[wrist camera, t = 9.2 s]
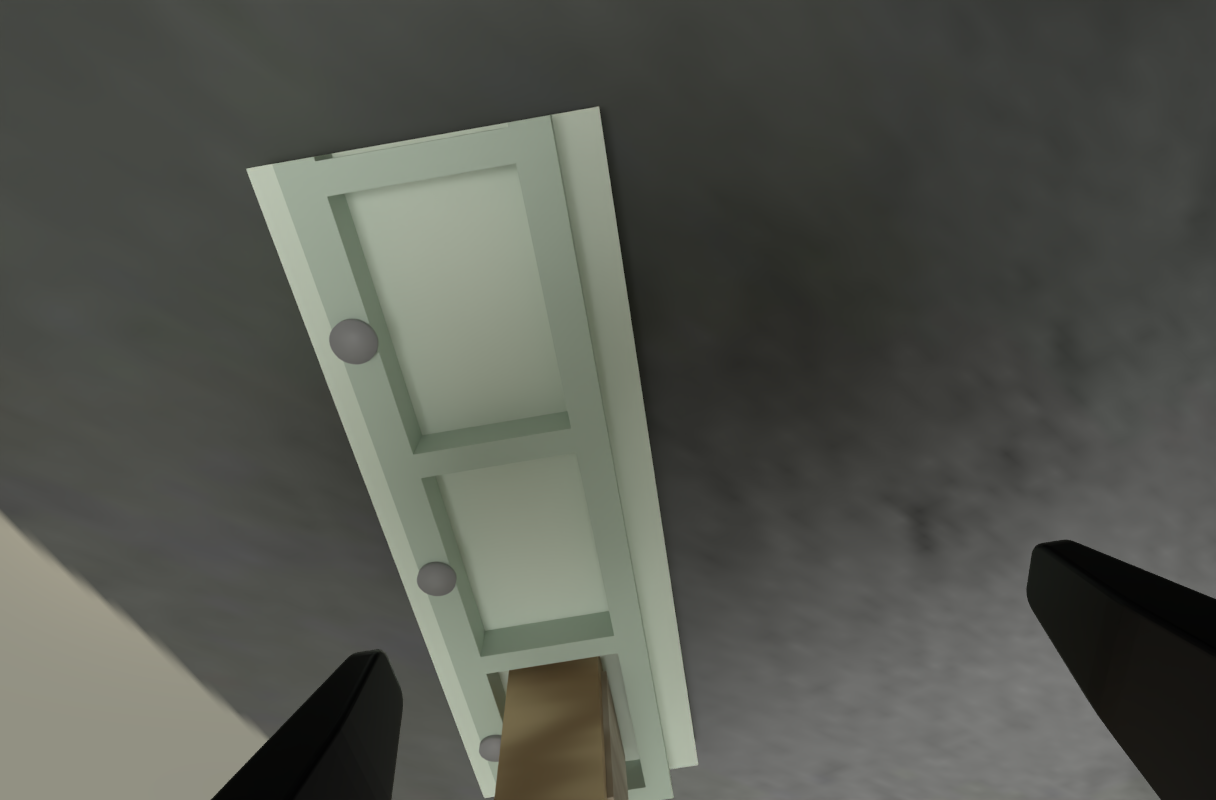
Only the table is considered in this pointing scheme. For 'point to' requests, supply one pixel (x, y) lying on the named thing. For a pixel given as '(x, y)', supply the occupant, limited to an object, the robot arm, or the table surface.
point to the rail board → (496, 411)
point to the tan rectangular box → (561, 735)
